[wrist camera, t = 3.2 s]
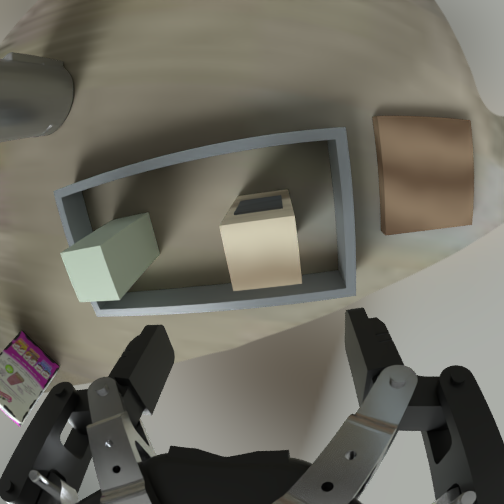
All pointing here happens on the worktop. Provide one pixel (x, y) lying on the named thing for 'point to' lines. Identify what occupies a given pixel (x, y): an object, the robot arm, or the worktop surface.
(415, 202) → the walnut board
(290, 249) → the birch block
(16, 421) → the candy bar box
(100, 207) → the worktop surface
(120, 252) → the sage block
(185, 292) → the grey bin
